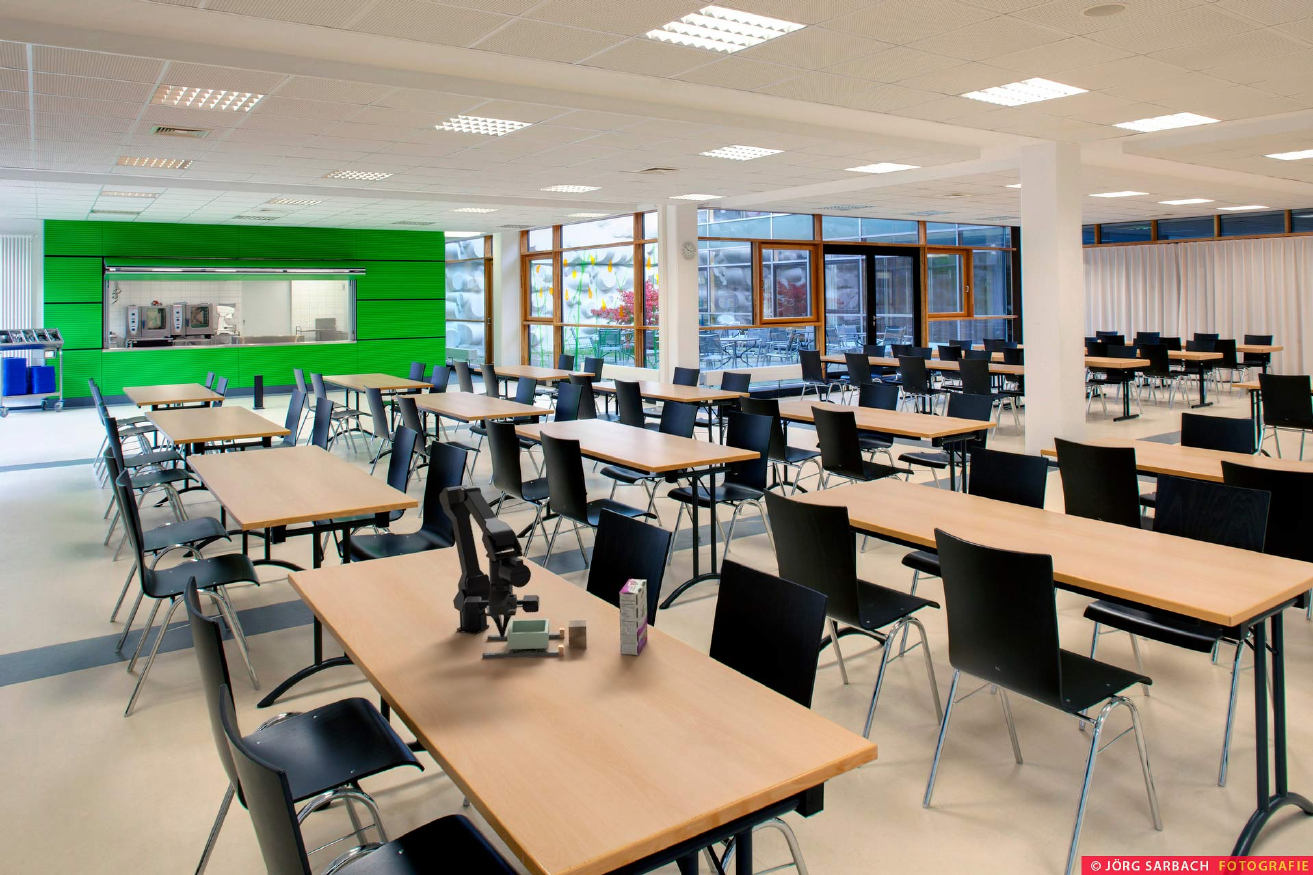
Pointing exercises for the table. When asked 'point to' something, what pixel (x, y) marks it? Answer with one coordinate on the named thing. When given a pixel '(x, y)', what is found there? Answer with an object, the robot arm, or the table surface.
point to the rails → (526, 654)
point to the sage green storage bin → (528, 634)
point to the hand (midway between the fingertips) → (502, 636)
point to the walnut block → (577, 634)
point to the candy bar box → (633, 616)
